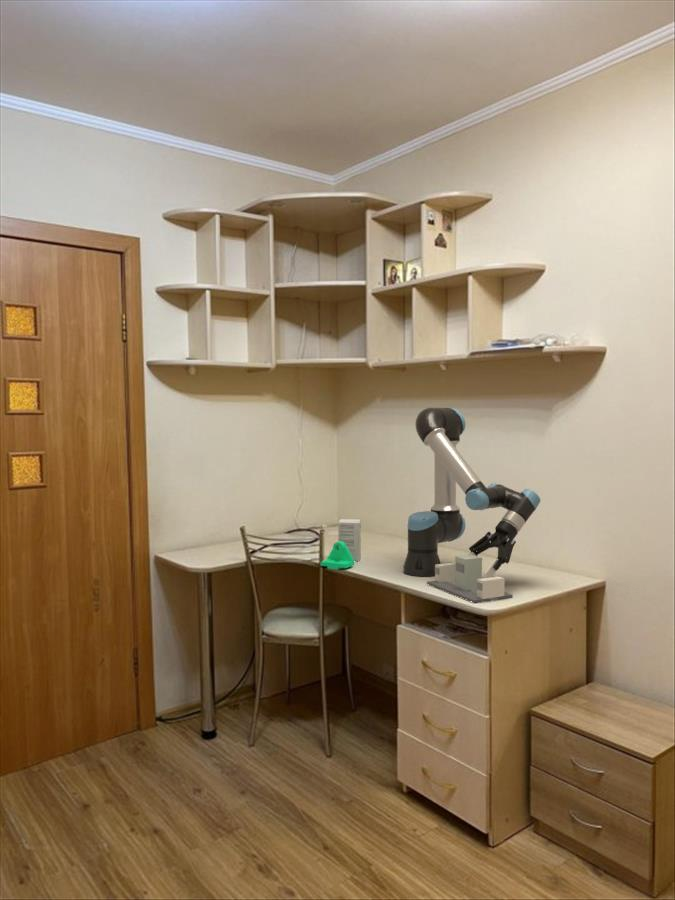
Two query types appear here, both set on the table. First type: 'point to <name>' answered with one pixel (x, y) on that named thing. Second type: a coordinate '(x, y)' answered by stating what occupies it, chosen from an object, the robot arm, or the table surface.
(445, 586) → the rail plate
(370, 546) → the table surface
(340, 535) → the supplement box
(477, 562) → the block
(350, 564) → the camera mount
